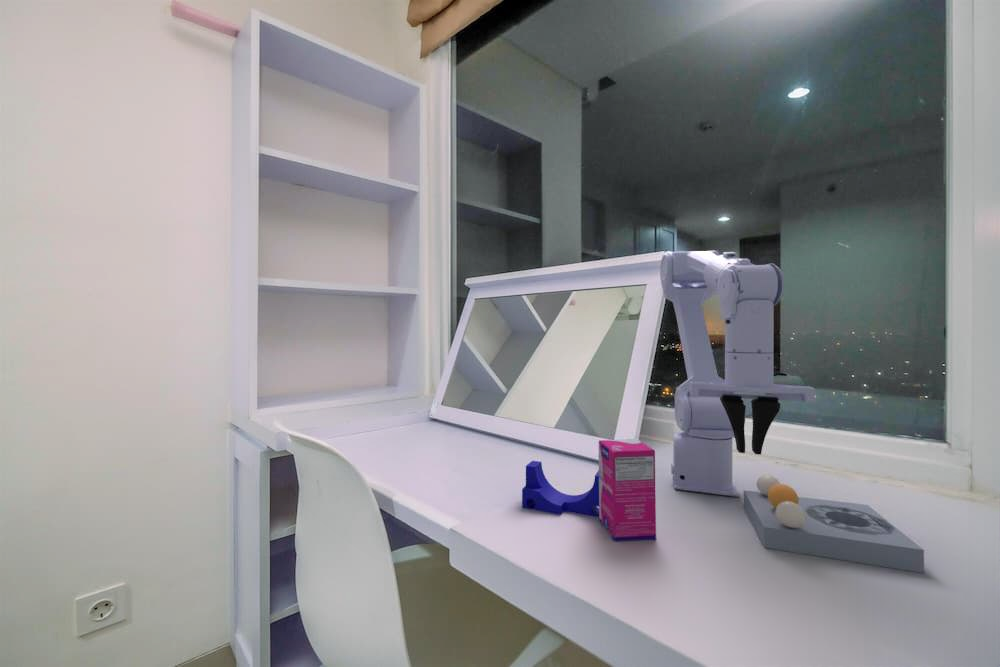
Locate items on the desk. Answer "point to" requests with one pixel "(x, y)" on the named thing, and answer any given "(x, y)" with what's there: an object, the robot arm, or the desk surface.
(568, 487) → the desk surface
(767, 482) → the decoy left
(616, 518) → the supplement box
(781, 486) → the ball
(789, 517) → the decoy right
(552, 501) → the blue curved bracket
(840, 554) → the grey socket plate
